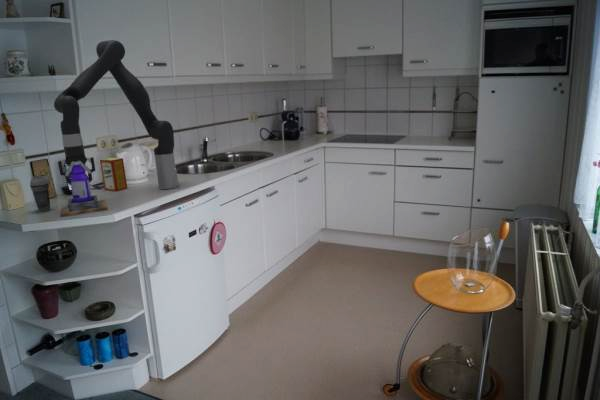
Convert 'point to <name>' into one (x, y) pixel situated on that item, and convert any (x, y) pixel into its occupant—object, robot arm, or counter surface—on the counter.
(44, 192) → the beverage cup
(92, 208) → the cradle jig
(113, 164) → the baking soda box
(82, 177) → the bottle
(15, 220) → the counter surface
